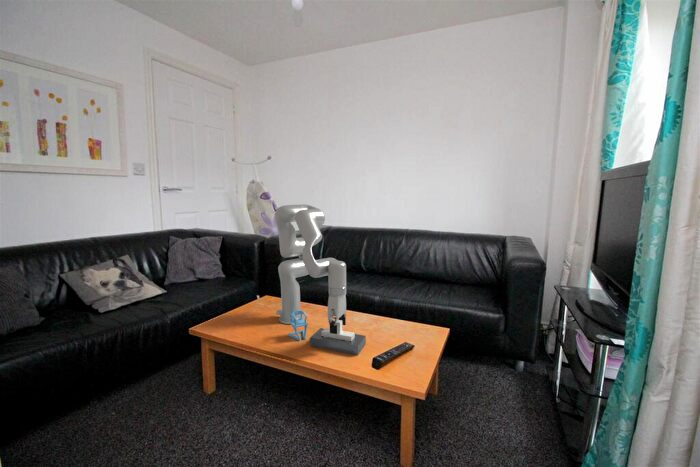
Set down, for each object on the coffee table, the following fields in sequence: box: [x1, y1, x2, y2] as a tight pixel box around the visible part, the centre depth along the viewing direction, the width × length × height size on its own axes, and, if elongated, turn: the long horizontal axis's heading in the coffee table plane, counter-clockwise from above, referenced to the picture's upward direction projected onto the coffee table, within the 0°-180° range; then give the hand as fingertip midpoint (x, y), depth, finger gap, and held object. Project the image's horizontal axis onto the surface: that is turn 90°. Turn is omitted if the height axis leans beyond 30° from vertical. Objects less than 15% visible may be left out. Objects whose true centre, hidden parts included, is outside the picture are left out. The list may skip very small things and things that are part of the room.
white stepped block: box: [321, 319, 356, 342], centre depth 139 cm, size 14×4×10 cm, turn 69°
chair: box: [287, 310, 309, 342], centre depth 147 cm, size 8×8×12 cm
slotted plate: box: [309, 328, 367, 356], centre depth 139 cm, size 22×10×4 cm, turn 69°
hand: (337, 328), depth 138 cm, fingers open, 8 cm apart
